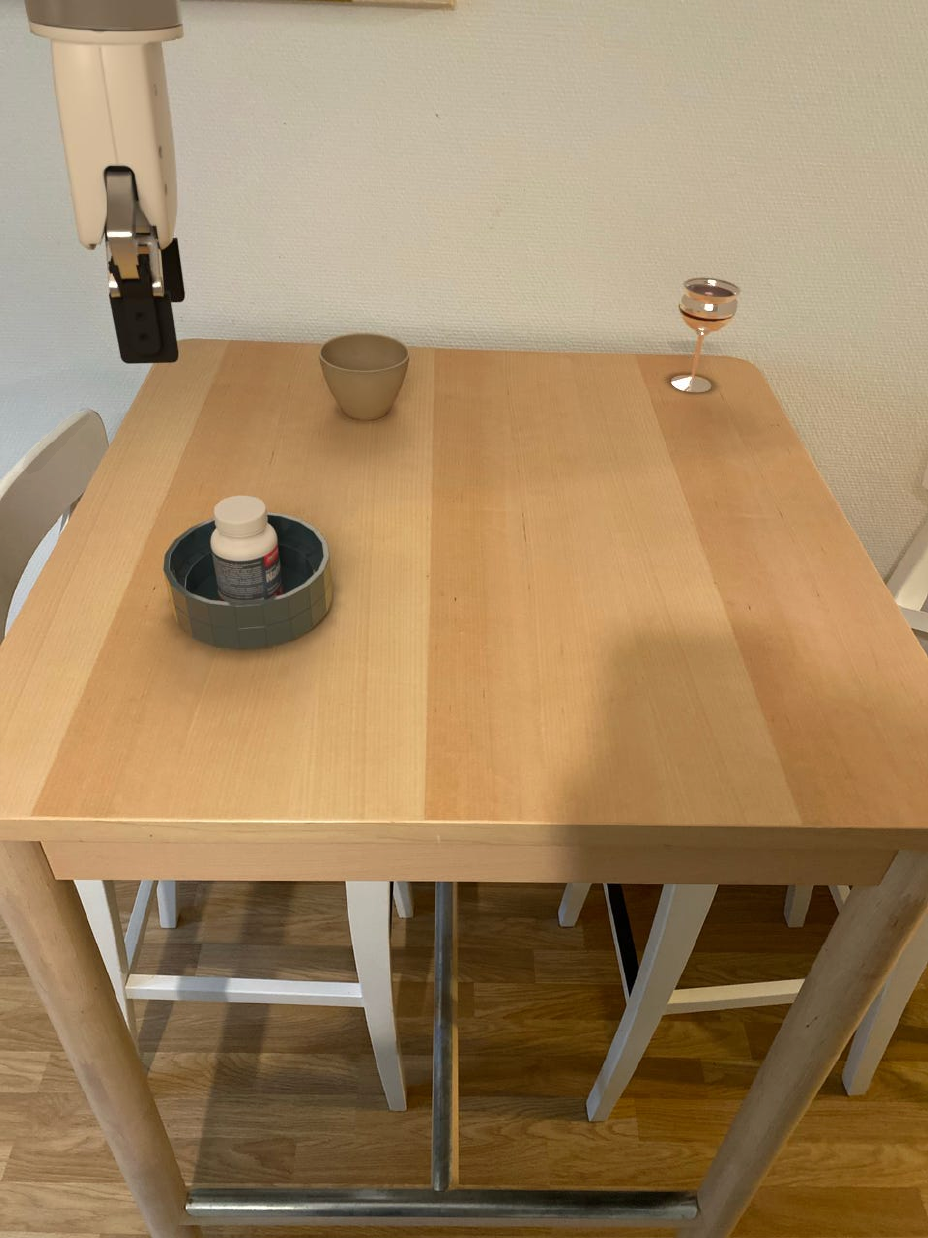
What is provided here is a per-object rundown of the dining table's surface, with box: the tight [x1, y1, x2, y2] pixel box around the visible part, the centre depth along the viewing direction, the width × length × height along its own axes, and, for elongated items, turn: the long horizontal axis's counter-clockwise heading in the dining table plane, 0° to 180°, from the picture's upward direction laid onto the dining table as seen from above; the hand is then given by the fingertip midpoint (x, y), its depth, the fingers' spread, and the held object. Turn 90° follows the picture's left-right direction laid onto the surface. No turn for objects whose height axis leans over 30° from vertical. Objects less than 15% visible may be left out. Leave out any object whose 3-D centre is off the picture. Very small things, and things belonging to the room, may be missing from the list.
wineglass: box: [670, 276, 742, 393], centre depth 109 cm, size 7×7×12 cm
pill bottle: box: [211, 495, 283, 603], centre depth 73 cm, size 5×5×9 cm
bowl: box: [162, 511, 333, 651], centre depth 75 cm, size 13×13×5 cm
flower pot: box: [317, 332, 411, 421], centre depth 102 cm, size 10×10×7 cm
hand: (156, 328), depth 57 cm, fingers open, 9 cm apart
